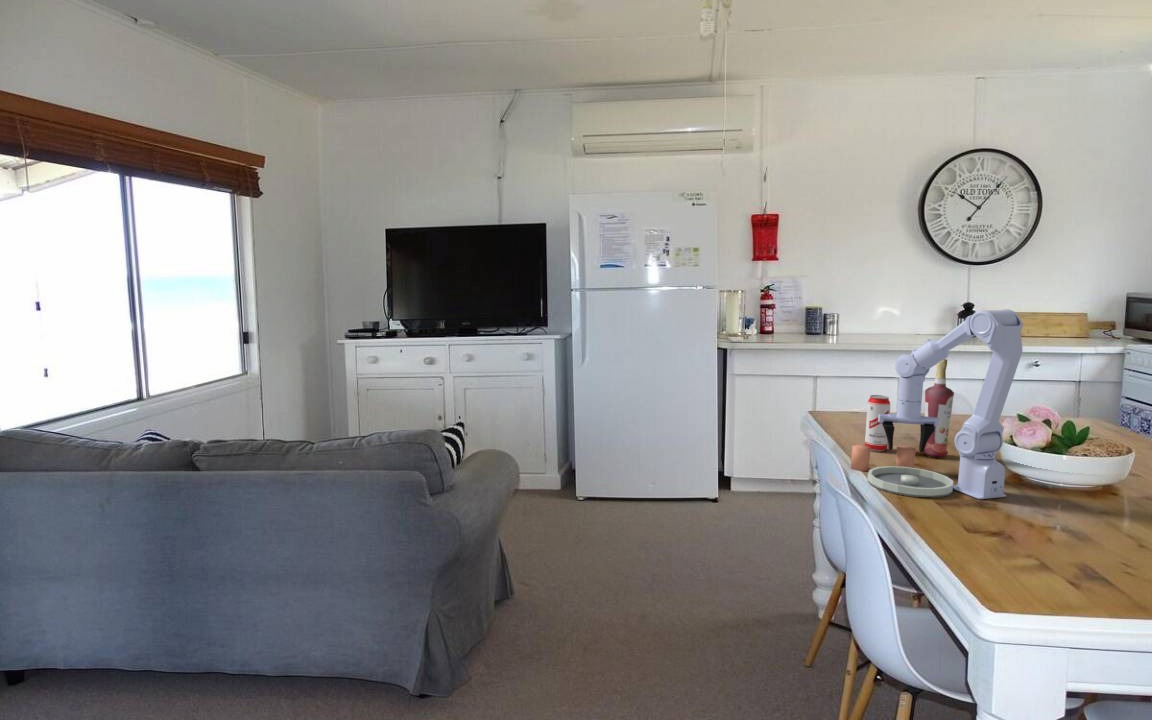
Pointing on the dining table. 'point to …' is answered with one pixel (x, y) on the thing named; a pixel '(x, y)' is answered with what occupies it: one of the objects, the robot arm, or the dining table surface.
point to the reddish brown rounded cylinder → (860, 457)
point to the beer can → (876, 423)
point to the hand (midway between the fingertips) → (905, 450)
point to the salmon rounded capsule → (905, 456)
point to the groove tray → (910, 481)
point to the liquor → (939, 412)
